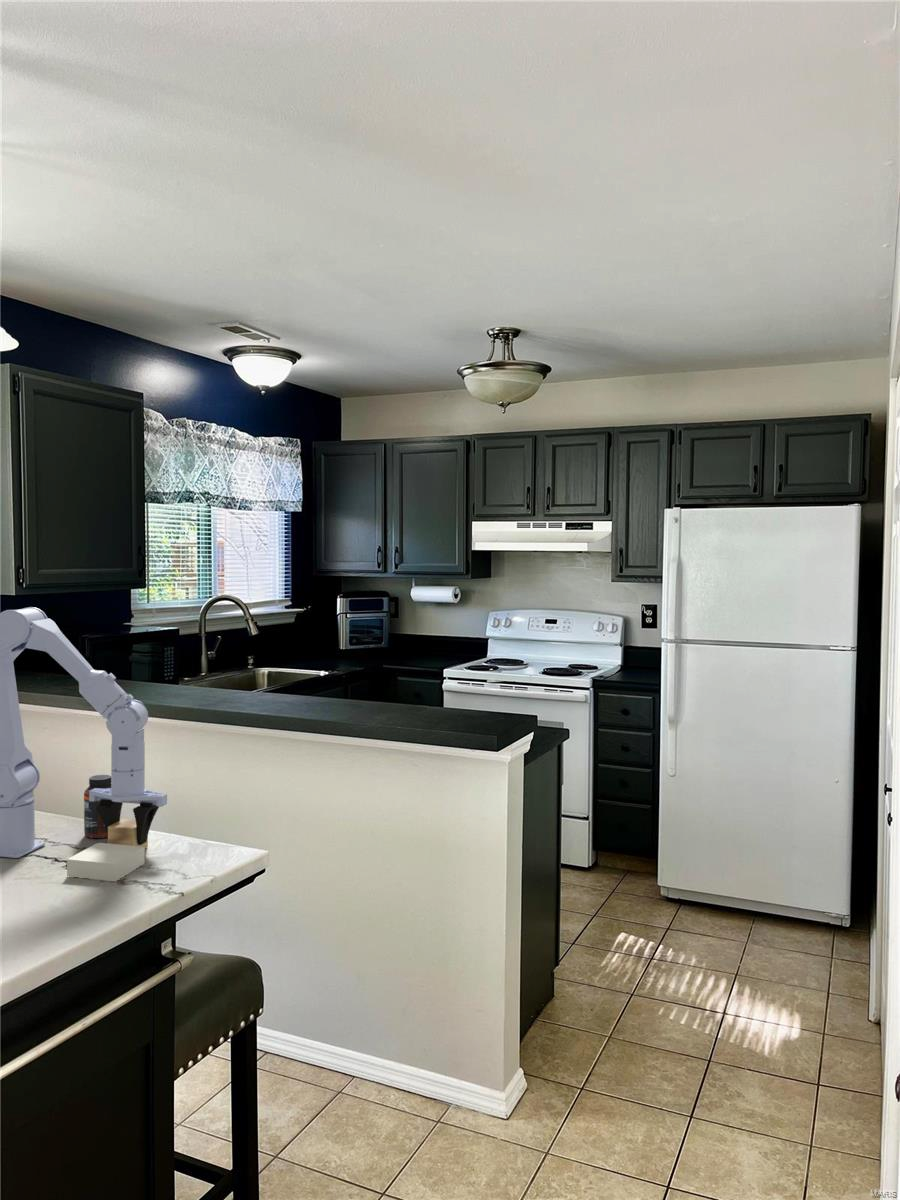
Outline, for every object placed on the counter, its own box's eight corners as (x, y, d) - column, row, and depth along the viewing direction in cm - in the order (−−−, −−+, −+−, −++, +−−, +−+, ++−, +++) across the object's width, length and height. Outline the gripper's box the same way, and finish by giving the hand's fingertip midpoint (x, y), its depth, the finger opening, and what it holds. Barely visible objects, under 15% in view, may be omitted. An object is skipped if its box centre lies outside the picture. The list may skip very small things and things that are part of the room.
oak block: (107, 854, 163) (107, 826, 163) (123, 845, 168) (123, 818, 167) (133, 856, 162) (133, 828, 162) (147, 847, 167) (147, 820, 166)
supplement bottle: (122, 830, 176) (122, 773, 176) (108, 840, 170) (108, 781, 170) (93, 829, 177) (93, 772, 176) (78, 839, 171) (77, 779, 170)
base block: (67, 876, 151) (66, 859, 151) (98, 859, 160) (98, 842, 160) (115, 881, 149) (115, 863, 149) (144, 863, 158) (144, 846, 158)
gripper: (79, 770, 161) (79, 845, 162) (152, 776, 159) (152, 852, 159) (101, 762, 168) (101, 833, 169) (173, 767, 166) (172, 839, 166)
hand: (128, 841), depth 165 cm, fingers closed on oak block, 5 cm apart
